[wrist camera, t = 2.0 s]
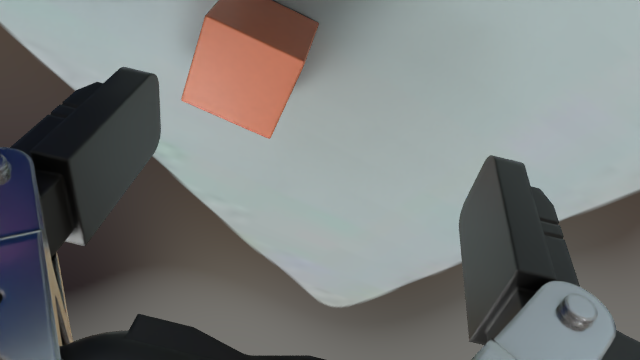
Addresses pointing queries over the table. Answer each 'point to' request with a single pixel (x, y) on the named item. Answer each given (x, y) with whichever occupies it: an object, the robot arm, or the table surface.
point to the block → (248, 62)
